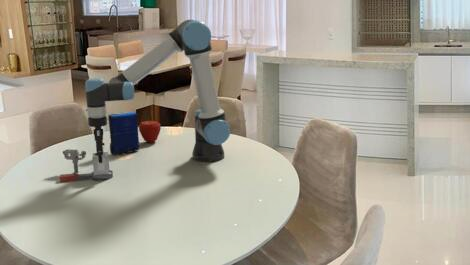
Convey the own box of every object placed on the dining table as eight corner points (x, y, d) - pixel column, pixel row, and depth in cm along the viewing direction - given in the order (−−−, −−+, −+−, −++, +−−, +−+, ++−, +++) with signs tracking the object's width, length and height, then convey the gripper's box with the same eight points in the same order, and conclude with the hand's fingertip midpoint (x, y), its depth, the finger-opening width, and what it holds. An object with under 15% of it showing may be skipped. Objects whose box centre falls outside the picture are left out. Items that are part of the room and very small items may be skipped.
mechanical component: (85, 174, 244) (83, 151, 242) (63, 173, 246) (61, 151, 244) (88, 171, 247) (86, 150, 244) (67, 171, 249) (65, 149, 246)
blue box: (112, 156, 270) (109, 115, 265) (108, 154, 274) (105, 113, 269) (140, 151, 277) (138, 111, 272) (136, 149, 282) (133, 110, 277)
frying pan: (112, 173, 245) (111, 155, 243) (113, 179, 236) (111, 161, 234) (61, 177, 240) (59, 159, 238) (59, 184, 231) (57, 165, 229)
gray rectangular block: (109, 169, 243) (108, 151, 241) (109, 174, 237) (108, 156, 235) (94, 171, 241) (92, 153, 239) (94, 175, 235) (92, 157, 233)
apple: (137, 144, 290) (135, 122, 287) (143, 139, 300) (142, 117, 297) (157, 145, 288) (156, 122, 285) (163, 140, 298) (162, 117, 295)
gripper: (88, 110, 244) (92, 157, 249) (87, 123, 220) (91, 174, 225) (106, 109, 246) (109, 156, 251) (106, 121, 222) (110, 173, 227)
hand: (101, 165), depth 238 cm, fingers open, 13 cm apart
